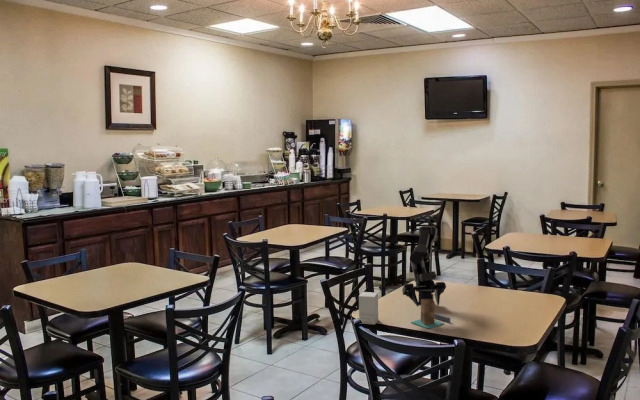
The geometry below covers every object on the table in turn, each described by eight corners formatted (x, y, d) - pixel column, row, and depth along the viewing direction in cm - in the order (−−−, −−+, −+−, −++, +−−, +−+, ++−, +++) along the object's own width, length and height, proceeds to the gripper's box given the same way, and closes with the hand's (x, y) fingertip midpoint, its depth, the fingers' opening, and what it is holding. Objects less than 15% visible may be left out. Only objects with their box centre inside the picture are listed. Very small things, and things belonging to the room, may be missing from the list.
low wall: (431, 317, 245) (431, 312, 245) (433, 316, 246) (433, 312, 246) (448, 322, 237) (448, 318, 237) (450, 322, 238) (450, 317, 238)
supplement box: (378, 319, 243) (378, 292, 242) (374, 325, 236) (374, 296, 235) (362, 318, 245) (362, 291, 244) (358, 323, 238) (358, 295, 237)
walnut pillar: (424, 324, 234) (424, 302, 233) (420, 321, 239) (420, 299, 238) (434, 324, 235) (434, 301, 234) (430, 320, 239) (431, 298, 238)
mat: (411, 323, 238) (411, 322, 238) (426, 318, 244) (426, 317, 244) (428, 329, 230) (428, 328, 230) (443, 324, 236) (443, 323, 235)
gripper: (404, 266, 237) (411, 297, 227) (444, 264, 240) (453, 295, 230) (399, 279, 246) (406, 310, 236) (438, 277, 248) (447, 307, 238)
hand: (428, 305), depth 235 cm, fingers open, 9 cm apart
